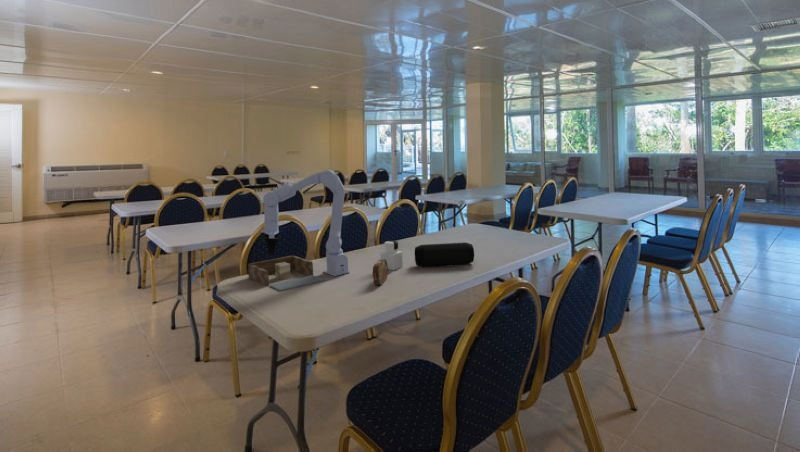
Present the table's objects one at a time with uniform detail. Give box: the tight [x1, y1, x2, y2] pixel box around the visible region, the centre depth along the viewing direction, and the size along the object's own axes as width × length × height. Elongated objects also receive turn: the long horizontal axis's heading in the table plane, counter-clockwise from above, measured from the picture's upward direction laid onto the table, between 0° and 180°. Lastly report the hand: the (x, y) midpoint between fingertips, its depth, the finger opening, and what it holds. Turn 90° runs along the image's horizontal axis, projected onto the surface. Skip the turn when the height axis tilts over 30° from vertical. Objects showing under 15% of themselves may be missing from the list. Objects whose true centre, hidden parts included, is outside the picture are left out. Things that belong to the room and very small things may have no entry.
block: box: [275, 262, 292, 281], centre depth 182 cm, size 4×4×6 cm
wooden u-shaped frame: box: [247, 255, 314, 287], centre depth 184 cm, size 17×21×6 cm
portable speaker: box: [414, 242, 475, 268], centre depth 196 cm, size 26×10×10 cm, turn 97°
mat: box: [269, 274, 325, 292], centre depth 174 cm, size 9×19×1 cm, turn 132°
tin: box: [372, 258, 389, 286], centre depth 173 cm, size 15×3×8 cm, turn 168°
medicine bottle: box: [380, 240, 404, 271], centre depth 193 cm, size 7×7×12 cm
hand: (271, 251), depth 185 cm, fingers open, 7 cm apart
